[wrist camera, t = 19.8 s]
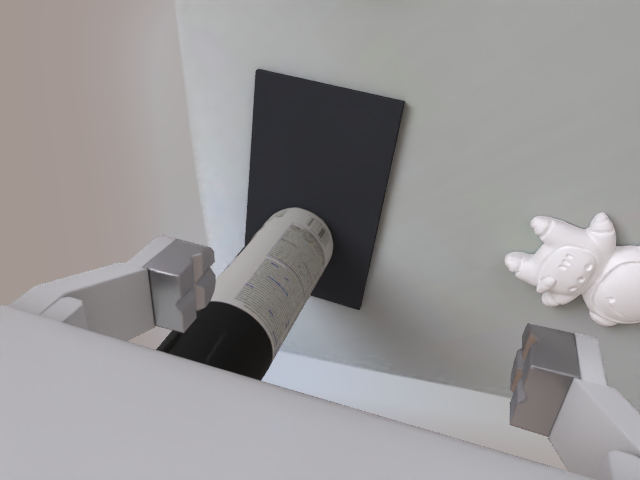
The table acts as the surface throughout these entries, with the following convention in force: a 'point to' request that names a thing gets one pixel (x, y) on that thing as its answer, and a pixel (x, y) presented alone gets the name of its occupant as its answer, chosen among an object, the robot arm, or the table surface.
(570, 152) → the table surface
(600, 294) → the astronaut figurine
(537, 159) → the table surface
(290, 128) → the mat
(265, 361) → the spray can
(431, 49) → the table surface
